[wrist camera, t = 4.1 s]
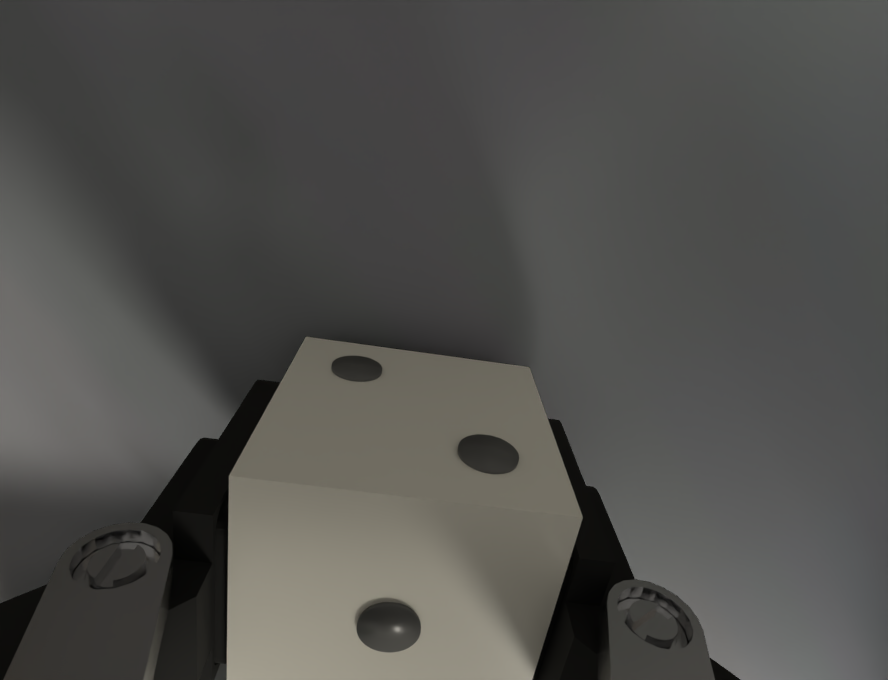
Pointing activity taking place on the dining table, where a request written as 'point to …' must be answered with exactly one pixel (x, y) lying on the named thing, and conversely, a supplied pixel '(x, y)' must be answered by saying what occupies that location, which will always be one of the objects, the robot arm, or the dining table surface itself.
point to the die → (396, 521)
